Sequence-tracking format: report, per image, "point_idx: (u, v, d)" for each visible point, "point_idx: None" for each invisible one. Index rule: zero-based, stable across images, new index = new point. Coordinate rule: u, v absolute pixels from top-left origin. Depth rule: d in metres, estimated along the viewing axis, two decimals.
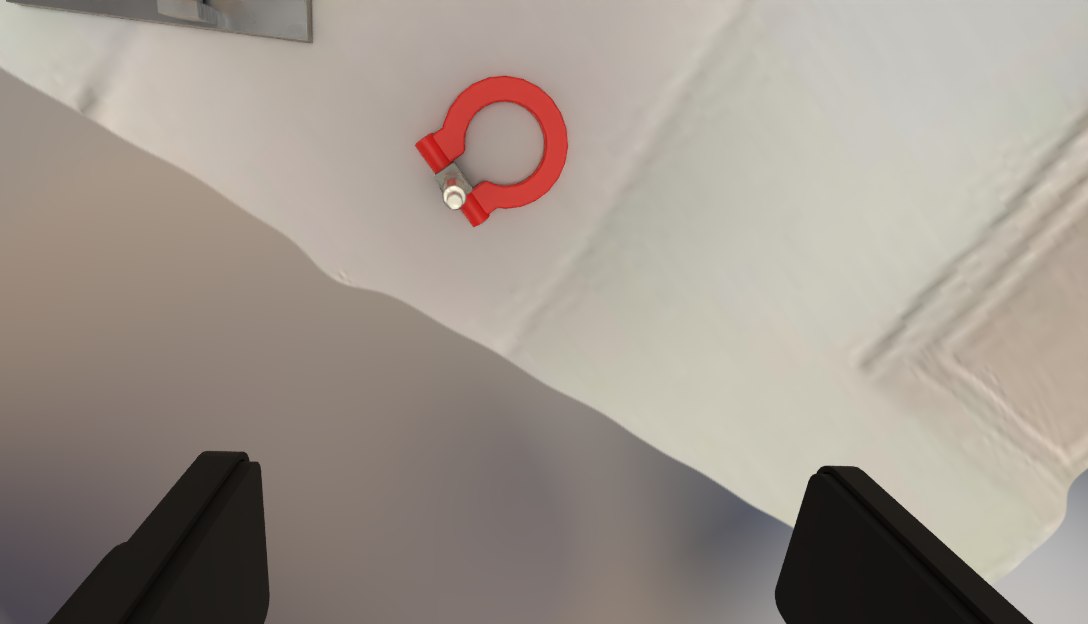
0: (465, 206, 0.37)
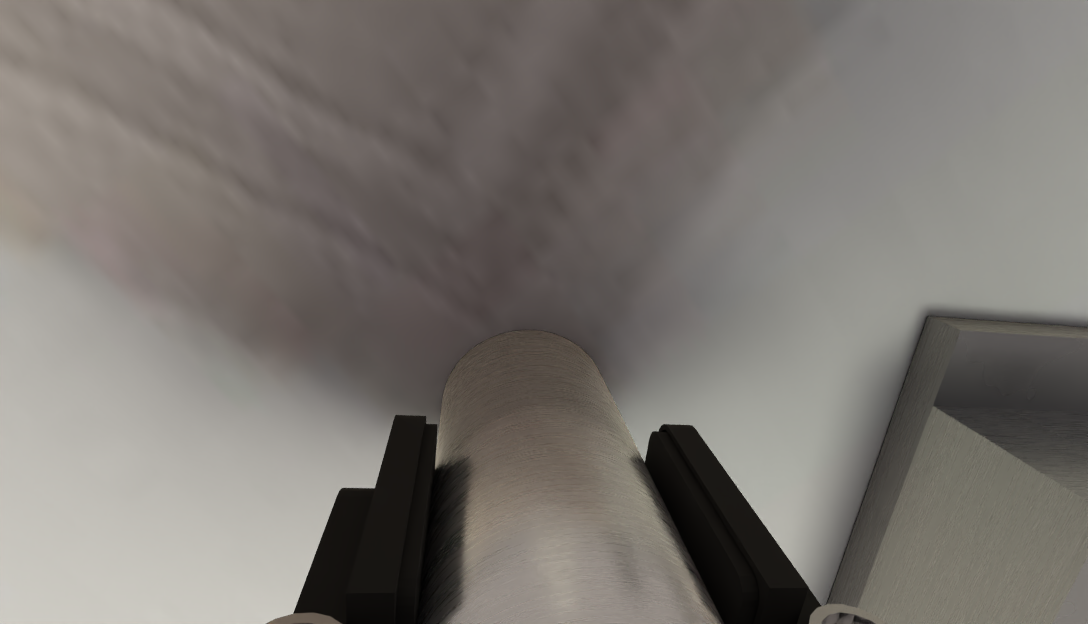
0: None
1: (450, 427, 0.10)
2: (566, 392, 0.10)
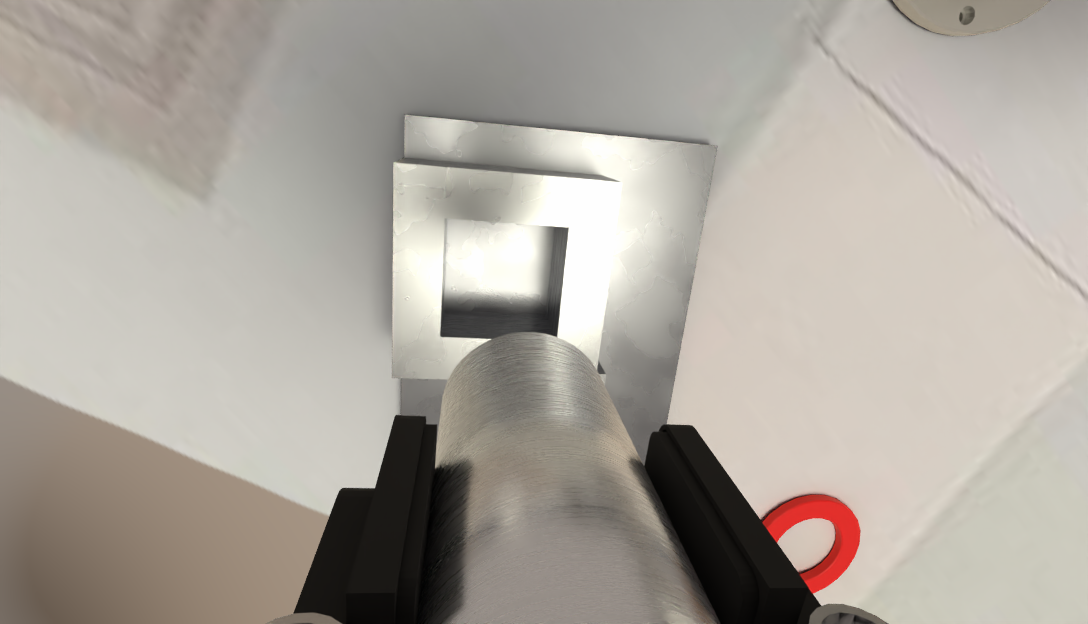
0: None
1: (449, 429, 0.10)
2: (565, 395, 0.10)
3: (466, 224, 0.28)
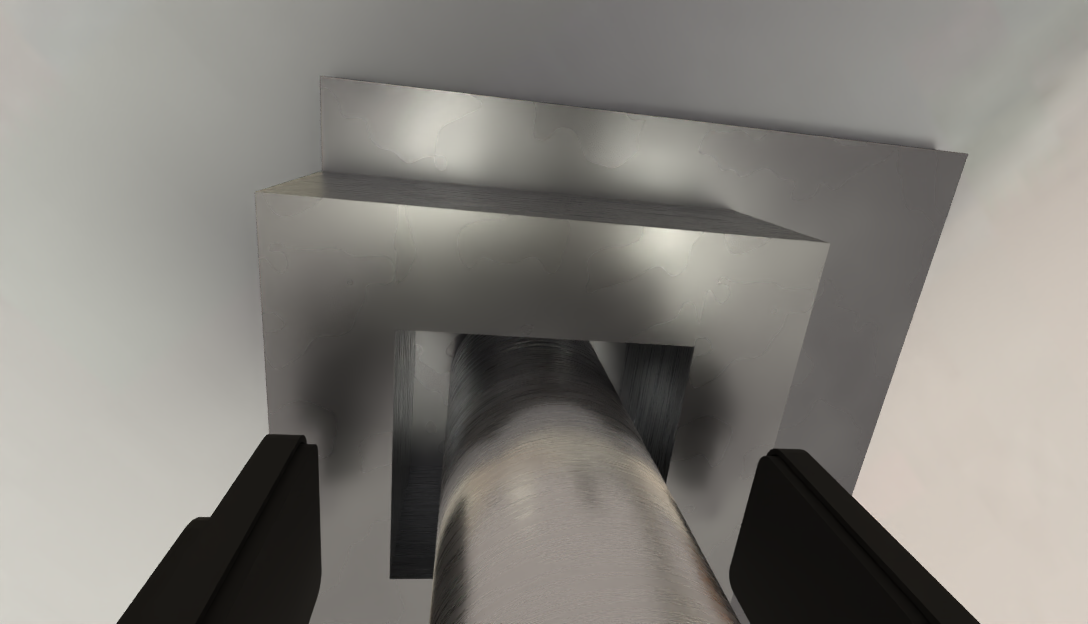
0: None
1: (460, 390, 0.11)
2: (562, 358, 0.11)
3: None
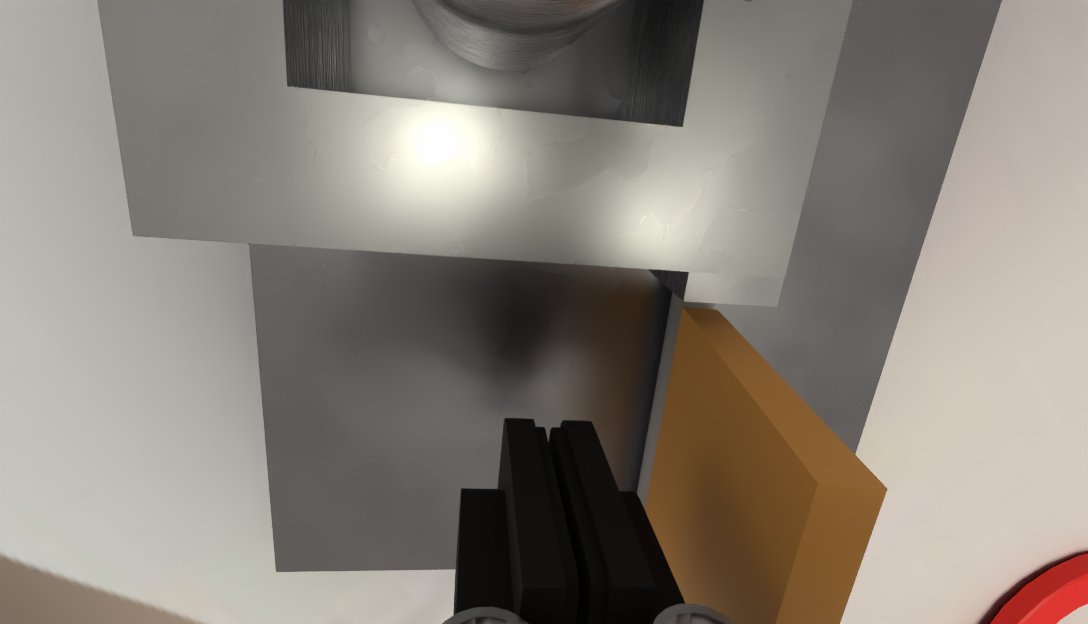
0: None
1: None
2: None
3: None
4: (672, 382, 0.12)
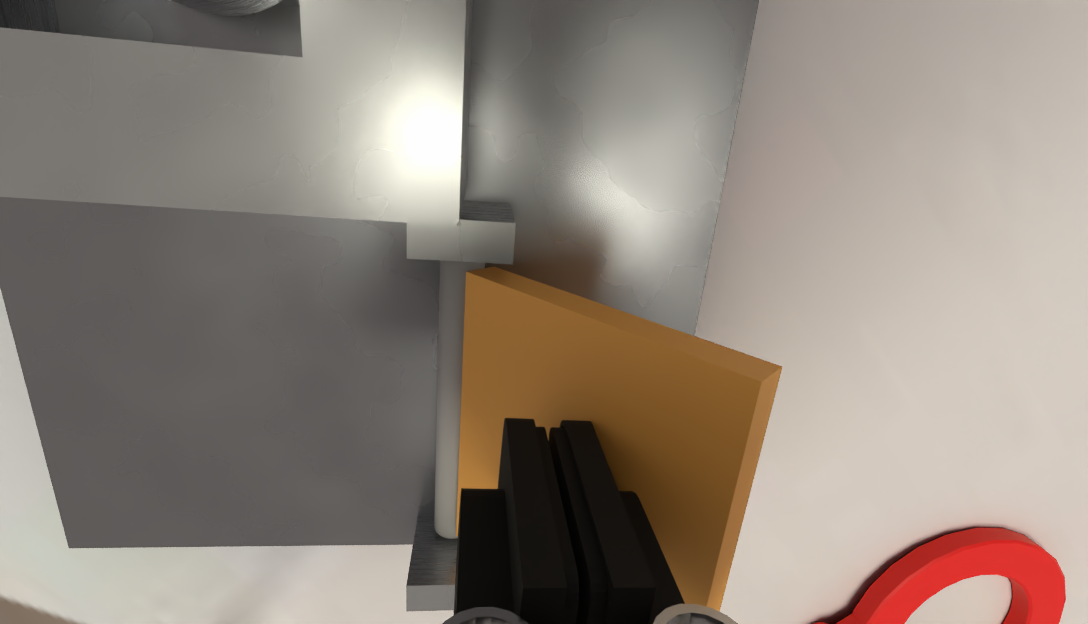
0: None
1: None
2: None
3: None
4: (471, 351, 0.12)
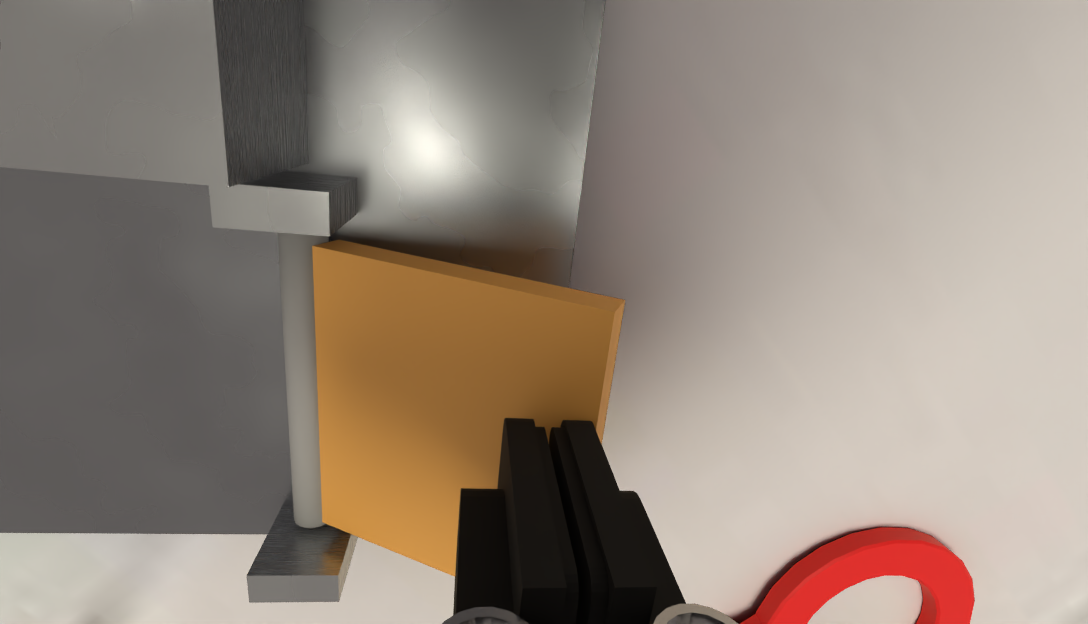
0: None
1: None
2: None
3: None
4: (326, 328, 0.12)
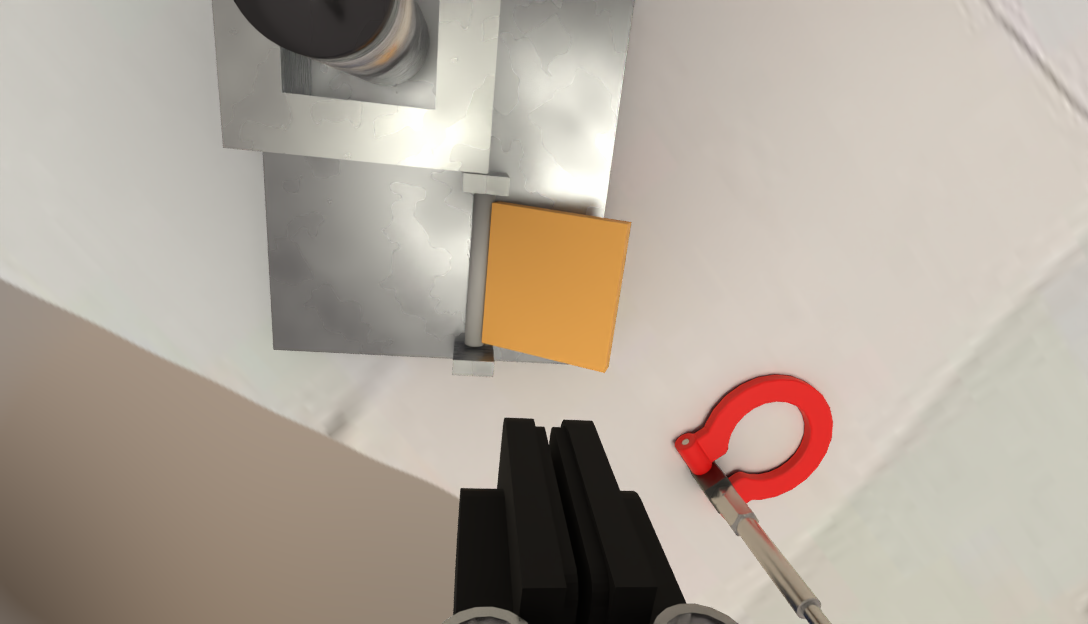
0: None
1: None
2: None
3: None
4: (495, 240, 0.26)
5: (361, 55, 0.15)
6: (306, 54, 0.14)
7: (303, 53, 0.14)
